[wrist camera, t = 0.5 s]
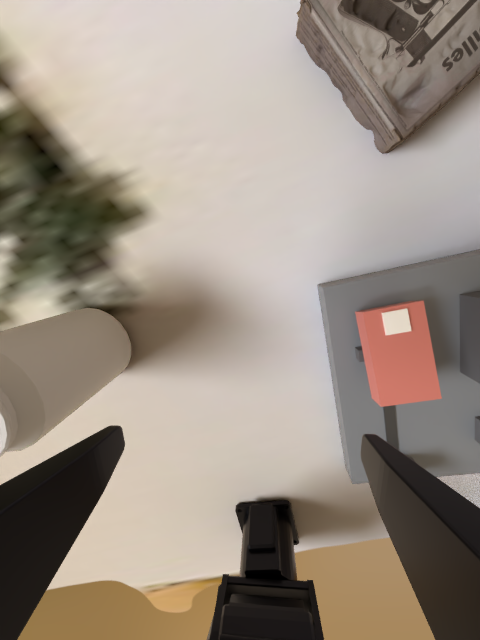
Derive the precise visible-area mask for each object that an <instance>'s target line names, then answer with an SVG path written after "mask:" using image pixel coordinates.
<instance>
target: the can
mask: <svg viewBox="0 0 480 640" xmlns="http://www.w3.org/2000/svg"><path fill="white" fill-rule="evenodd" d="M130 358H131V343H130V340H129V337H128V334H127V332H126V331H125V329H124V328H123V326H122V325H121V323H120V322H119V321H117V320H116V319H115V318H114V317H113V316H112V315H110V314H108V313H106V312H104V311H102V310H99V309H93V308H84V309H79V310H75V311H71V312H67V313H64V314H60V315H57V316H53V317H50V318H46V319H43V320H39V321H36V322H32V323H29V324H25V325H21V326H18V327H14V328H11V329H7V330H4V331H0V457H1V456H2V455H3V454H4V453H5V452H10V451H21V450H23V449H25V448H27V447H29V446H31V445H33V444H34V443H36V442H37V441H38V440H39V439H41V438H42V437H43V436H44V435H46V434H47V433H48V432H49V431H50V430H52V429H53V428H54V427H55V426H57V425H58V424H59V423H60V422H61V421H63V420H64V419H65V418H66V417H68V416H69V415H70V414H71V413H73V412H74V411H75V410H76V409H77V408H79V407H80V406H81V405H82V404H84V403H85V402H86V401H87V400H89V399H90V398H91V397H92V396H93V395H95V394H96V393H97V392H98V391H100V390H101V389H102V388H103V387H104V386H106V385H107V384H108V383H109V382H111V381H112V380H113V379H114V378H116V377H117V376H118V375H119V374H120V373H122V371H123V370H124V369H125V368H126V367H127V366H128V364H129V361H130Z"/></svg>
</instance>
